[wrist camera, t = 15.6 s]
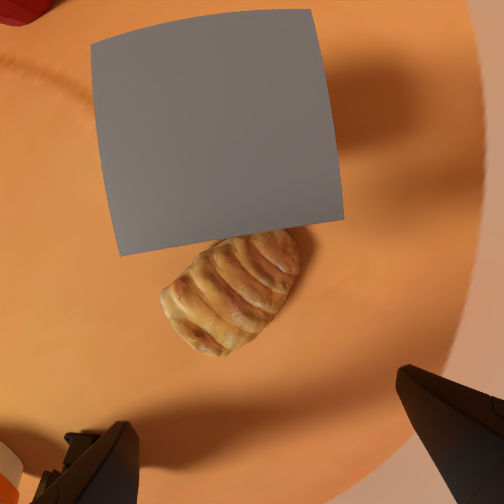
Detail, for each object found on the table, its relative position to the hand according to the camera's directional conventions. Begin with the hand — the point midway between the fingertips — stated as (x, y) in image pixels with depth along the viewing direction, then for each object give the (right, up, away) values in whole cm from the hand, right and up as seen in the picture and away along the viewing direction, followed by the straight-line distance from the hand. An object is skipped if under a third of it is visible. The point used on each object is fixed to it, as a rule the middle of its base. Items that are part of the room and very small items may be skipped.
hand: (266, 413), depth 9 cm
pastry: (-2, +3, +13) cm, 13 cm away
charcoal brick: (-2, +9, +1) cm, 9 cm away
